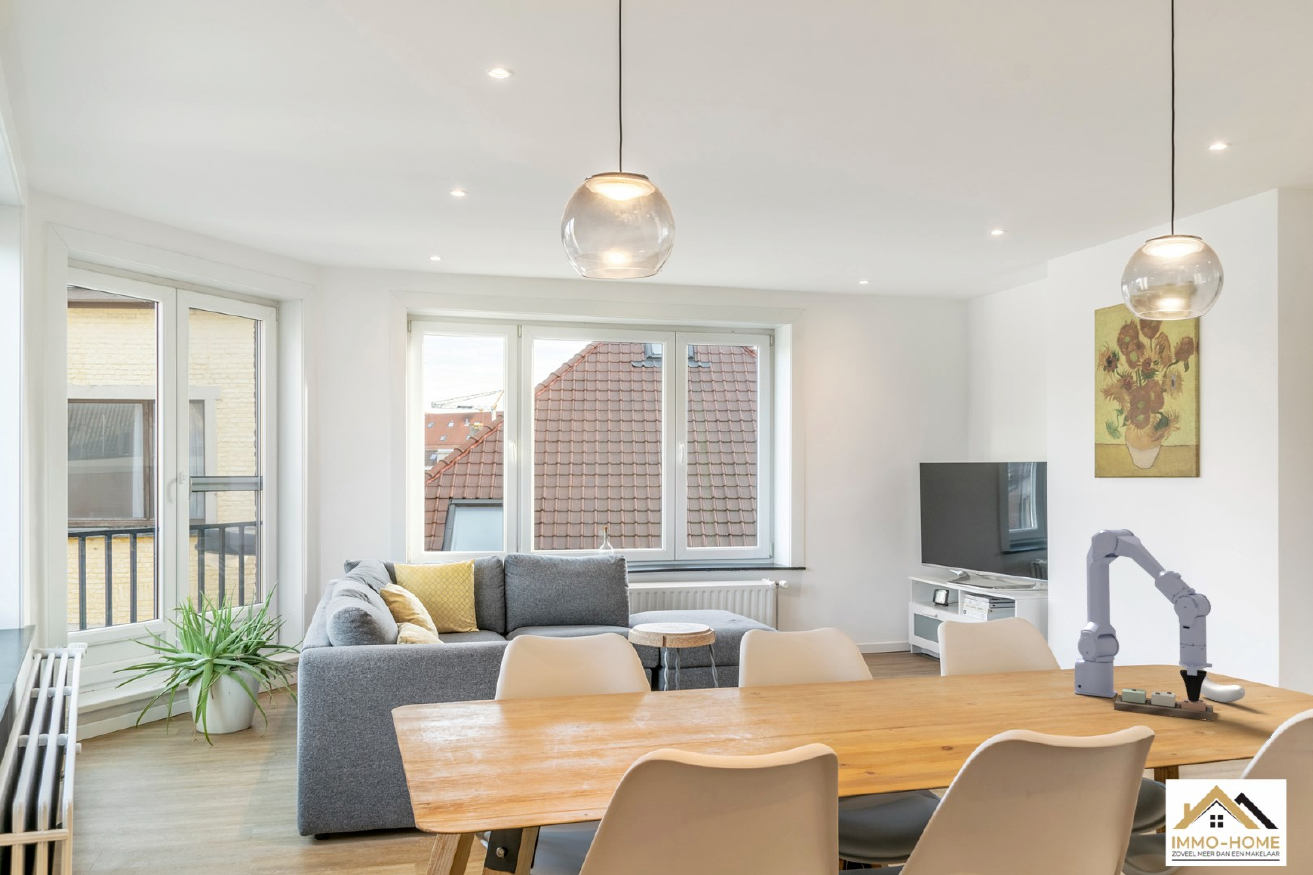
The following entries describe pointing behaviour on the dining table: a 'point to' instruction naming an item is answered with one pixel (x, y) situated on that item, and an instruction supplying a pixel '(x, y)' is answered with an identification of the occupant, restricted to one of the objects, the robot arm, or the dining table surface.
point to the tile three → (1193, 705)
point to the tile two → (1163, 698)
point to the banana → (1221, 691)
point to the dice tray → (1163, 709)
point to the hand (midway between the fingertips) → (1193, 700)
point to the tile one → (1134, 695)
